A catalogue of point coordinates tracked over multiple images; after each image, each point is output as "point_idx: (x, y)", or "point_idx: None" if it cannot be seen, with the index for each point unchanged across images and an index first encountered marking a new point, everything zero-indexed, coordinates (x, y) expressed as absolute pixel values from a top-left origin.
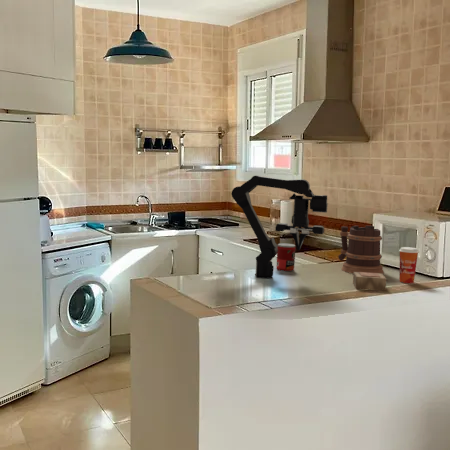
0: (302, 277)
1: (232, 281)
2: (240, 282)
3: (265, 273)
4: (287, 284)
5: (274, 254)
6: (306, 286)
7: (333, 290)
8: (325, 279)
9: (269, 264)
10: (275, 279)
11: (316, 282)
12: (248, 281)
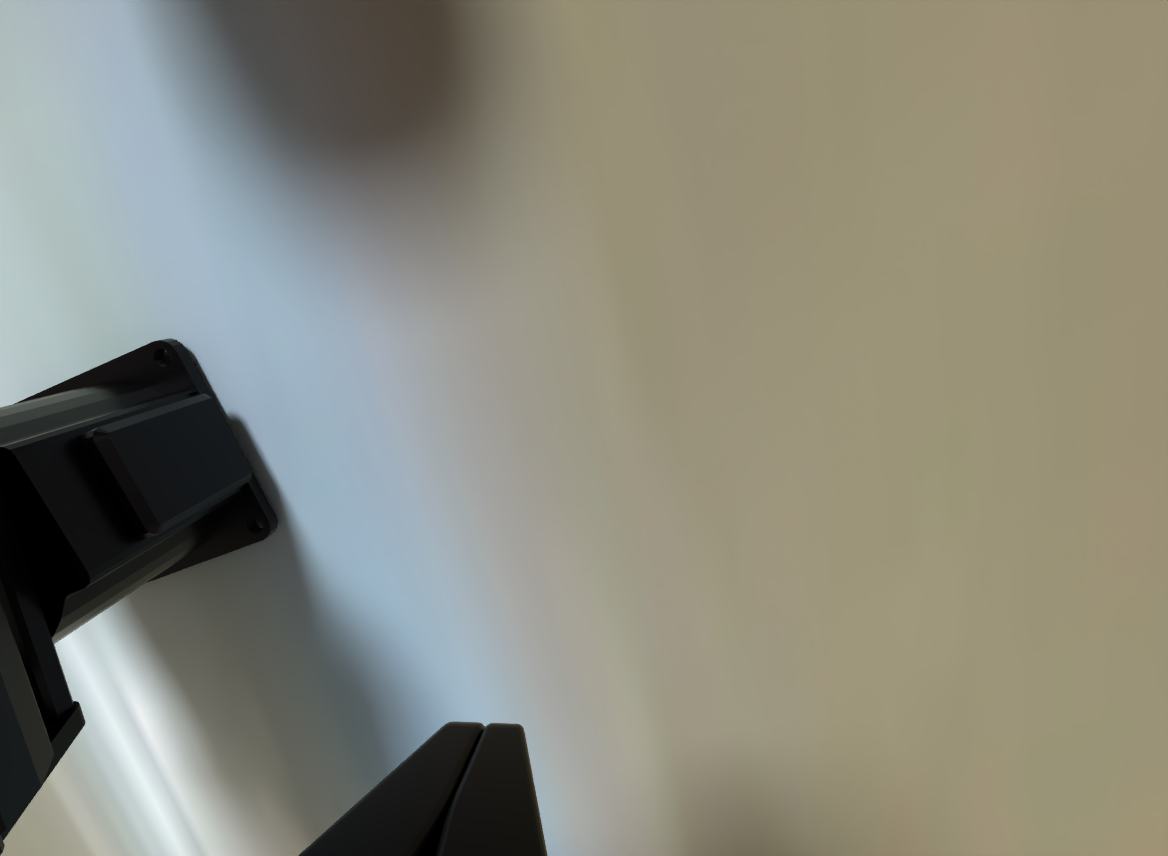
0: (627, 229)
1: (14, 837)
2: (95, 849)
3: (161, 571)
4: (539, 758)
5: (3, 810)
6: (761, 771)
7: (1089, 845)
8: (1003, 197)
9: (88, 600)
10: (334, 556)
11: (867, 497)
12: (133, 780)
